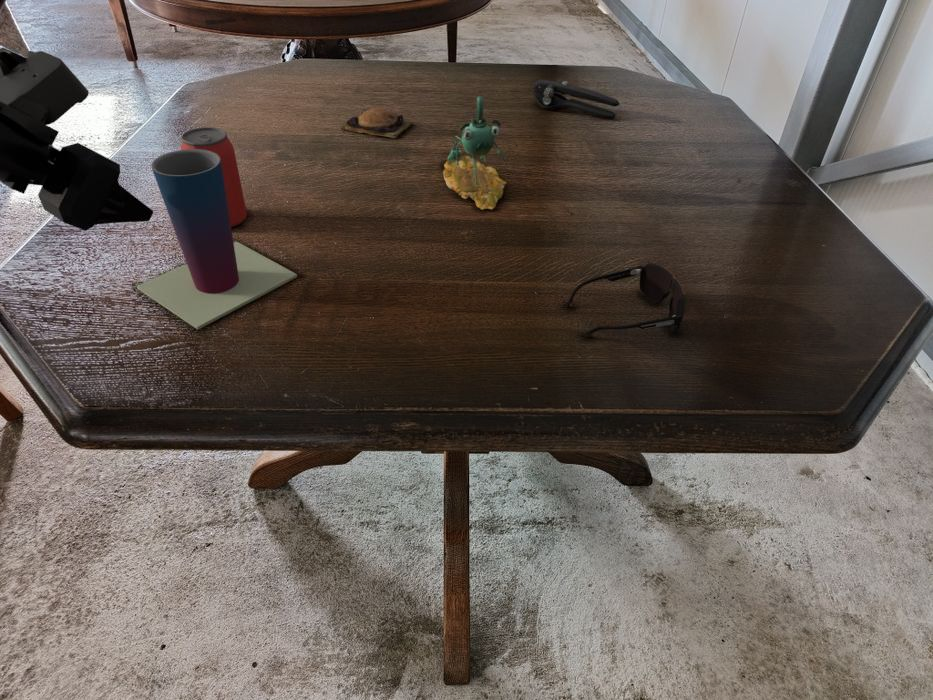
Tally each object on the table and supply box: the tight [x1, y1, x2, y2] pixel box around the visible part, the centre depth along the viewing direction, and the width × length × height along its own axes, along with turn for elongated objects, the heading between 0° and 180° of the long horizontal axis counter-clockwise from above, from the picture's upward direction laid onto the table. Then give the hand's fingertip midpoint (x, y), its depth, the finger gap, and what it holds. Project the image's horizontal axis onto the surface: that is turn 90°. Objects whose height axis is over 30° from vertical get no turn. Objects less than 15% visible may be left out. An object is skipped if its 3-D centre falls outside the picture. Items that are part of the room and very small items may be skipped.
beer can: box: [180, 126, 248, 228], centre depth 83 cm, size 7×7×12 cm
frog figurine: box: [442, 95, 507, 211], centre depth 95 cm, size 10×18×15 cm, turn 13°
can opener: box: [533, 79, 620, 120], centre depth 125 cm, size 18×7×6 cm, turn 67°
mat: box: [136, 240, 298, 331], centre depth 75 cm, size 14×12×1 cm
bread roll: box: [344, 106, 412, 139], centre depth 115 cm, size 11×8×4 cm
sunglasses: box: [567, 262, 686, 339], centre depth 72 cm, size 10×12×5 cm
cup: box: [150, 149, 239, 293], centre depth 70 cm, size 7×7×15 cm
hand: (124, 201), depth 62 cm, fingers open, 9 cm apart
